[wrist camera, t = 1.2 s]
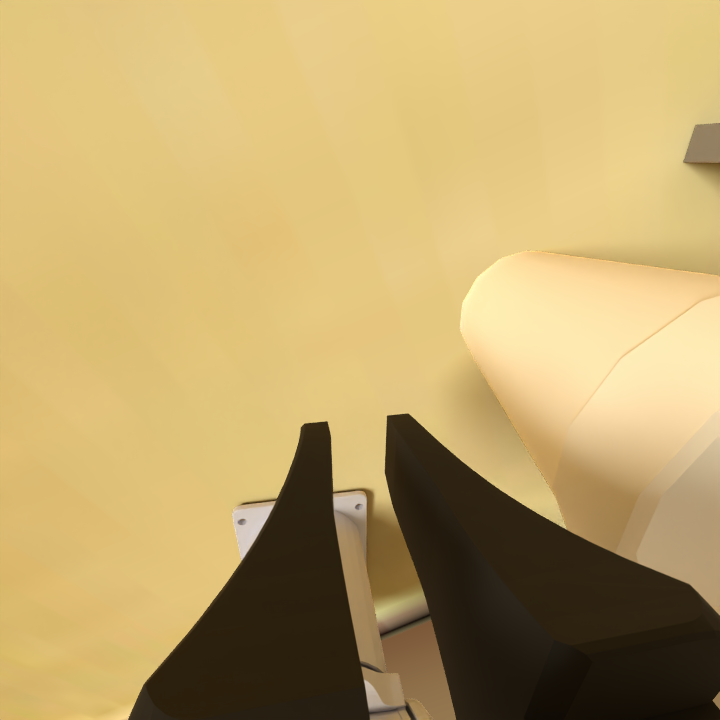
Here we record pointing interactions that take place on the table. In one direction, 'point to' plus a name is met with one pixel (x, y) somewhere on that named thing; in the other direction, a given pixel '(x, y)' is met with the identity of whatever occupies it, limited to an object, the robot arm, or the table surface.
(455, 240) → the table surface
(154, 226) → the table surface
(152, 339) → the table surface
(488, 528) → the robot arm
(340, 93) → the table surface
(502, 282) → the foam cup
